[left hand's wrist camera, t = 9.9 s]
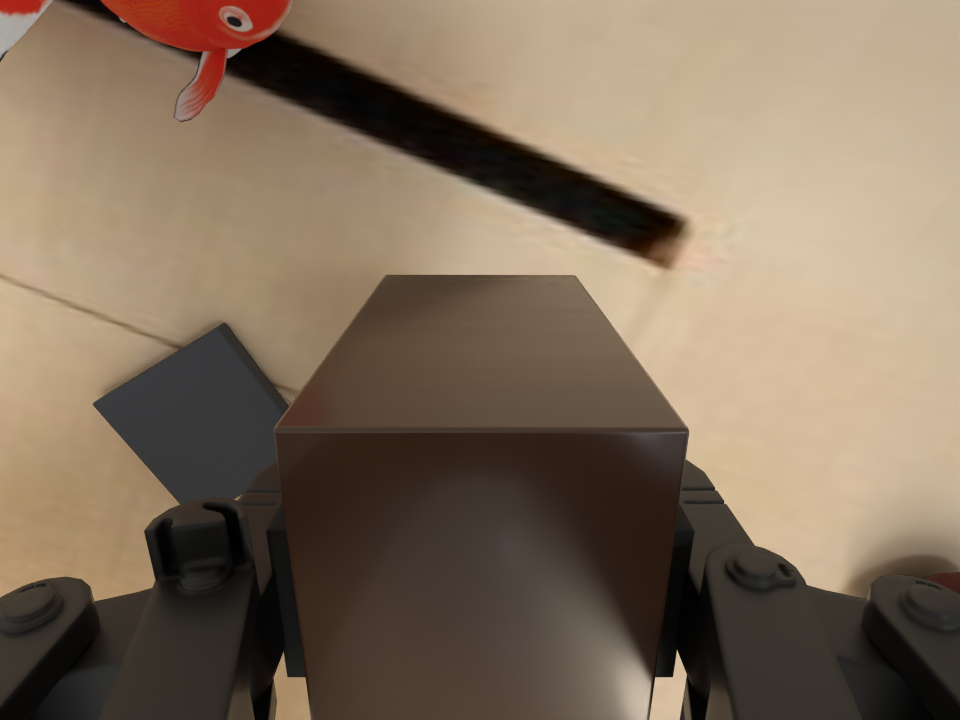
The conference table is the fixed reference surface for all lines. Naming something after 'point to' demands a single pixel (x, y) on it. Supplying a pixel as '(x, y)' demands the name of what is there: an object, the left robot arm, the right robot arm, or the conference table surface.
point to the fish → (175, 33)
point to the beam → (480, 507)
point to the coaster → (200, 418)
